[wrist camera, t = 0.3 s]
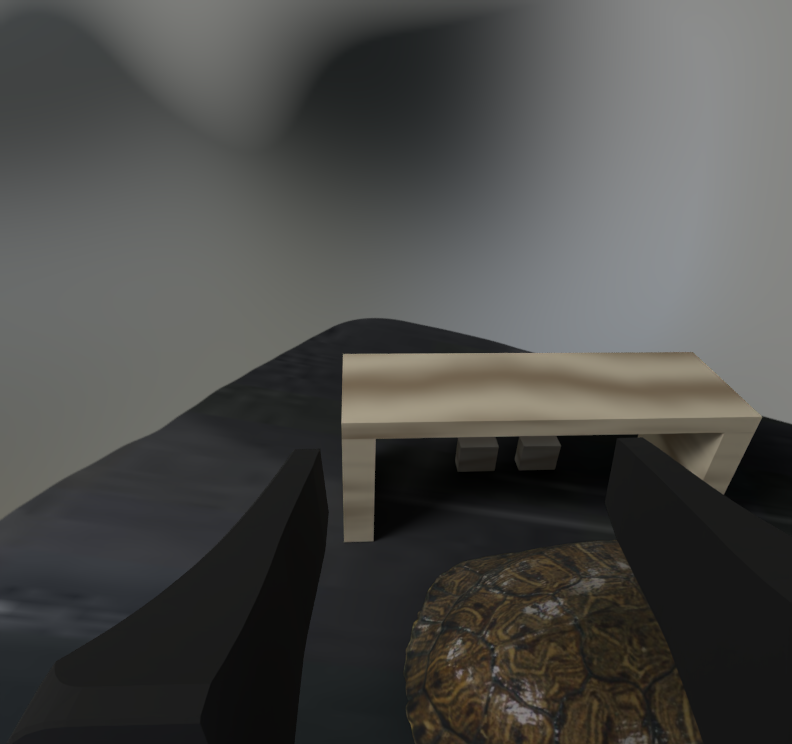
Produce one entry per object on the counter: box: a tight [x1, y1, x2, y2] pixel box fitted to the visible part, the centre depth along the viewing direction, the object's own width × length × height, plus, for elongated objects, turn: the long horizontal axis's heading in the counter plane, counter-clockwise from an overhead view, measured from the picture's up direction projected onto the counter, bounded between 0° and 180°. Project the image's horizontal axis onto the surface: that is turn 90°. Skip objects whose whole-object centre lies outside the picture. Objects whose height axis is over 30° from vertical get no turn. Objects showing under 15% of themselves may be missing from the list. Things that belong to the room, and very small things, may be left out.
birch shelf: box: [342, 352, 762, 542], centre depth 38 cm, size 8×26×10 cm, turn 94°
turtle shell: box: [403, 540, 703, 744], centre depth 27 cm, size 16×9×20 cm
